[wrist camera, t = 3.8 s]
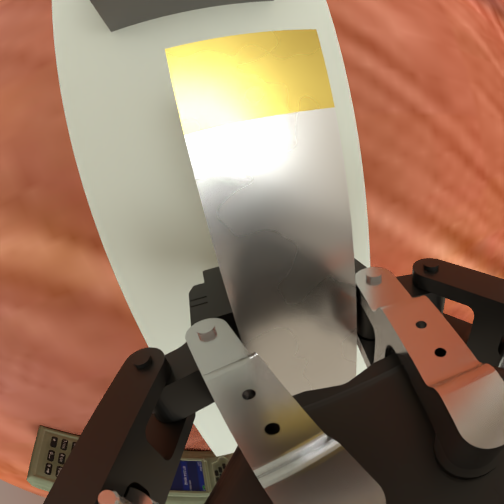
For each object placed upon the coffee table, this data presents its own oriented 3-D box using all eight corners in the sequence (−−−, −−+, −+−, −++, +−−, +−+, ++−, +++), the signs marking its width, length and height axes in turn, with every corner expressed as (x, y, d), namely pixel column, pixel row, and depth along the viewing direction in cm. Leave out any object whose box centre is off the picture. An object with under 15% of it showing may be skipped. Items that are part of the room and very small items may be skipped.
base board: (214, 443, 23) (216, 456, 22) (60, -10, 9) (52, -20, 7) (358, 395, 25) (365, 406, 23) (292, -55, 10) (300, -66, 9)
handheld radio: (37, 419, 19) (290, 442, 26) (45, 437, 20) (280, 457, 27) (23, 476, 13) (310, 495, 20) (34, 489, 14) (297, 506, 21)
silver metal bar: (285, 471, 17) (299, 507, 14) (171, 80, 8) (164, 48, 5) (328, 456, 18) (345, 490, 15) (274, 61, 8) (316, 29, 5)
